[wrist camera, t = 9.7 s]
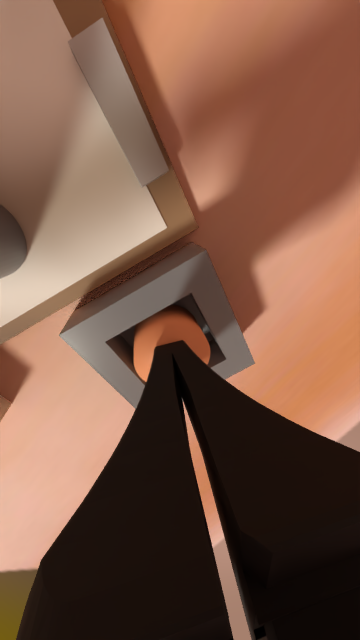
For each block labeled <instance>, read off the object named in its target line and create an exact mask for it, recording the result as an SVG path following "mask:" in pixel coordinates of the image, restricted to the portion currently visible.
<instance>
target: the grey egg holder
mask: <svg viewBox="0 0 360 640" xmlns="http://www.w3.org/2000/svg"><path fill="white" fill-rule="evenodd" d="M169 305H177V306H180V307H183V308H185V309H186V310H188V311H189V312H190V313H191V314H192V315H193V316H194V318H195V319H196V321H197V323H198V325H199V326H200V328H201V330H202V332H203V333H204V335H205V337H206V339H207V341H208V343H209V346H210V359H209V362H208V364H207V365H208V366H209V367H210V368H211V369H212V370H213V371H215V372H216V373H217V374H218V375H219V376H221V377H222V378H223V379H224V380H225V379H227V378H229V377H230V376H232V375H234V374H236V373H238V372H240V371H242V370H244V369H245V368H247V367H249V366H251V365H253V364H255V362H254V360H253V357H252V355H251V353H250V350H249V348H248V346H247V343H246V341H245V339H244V337H243V334H242V332H241V330H240V327H239V325H238V323H237V320H236V318H235V316H234V313H233V311H232V309H231V306H230V304H229V302H228V299H227V297H226V295H225V292H224V290H223V288H222V285H221V283H220V281H219V279H218V276H217V274H216V272H215V269H214V267H213V265H212V262H211V260H210V258H209V255H208V253H207V251H206V250H205V249H204V248H202V247H200V246H198V245H196V244H194V243H193V242H191V243H189V244H187V245H186V246H184V247H182V248H181V249H179V250H177V251H176V252H174V253H172V254H170V255H169V256H167V257H165V258H164V259H162V260H160V261H158V262H157V263H155V264H153V265H152V266H150V267H148V268H147V269H145V270H143V271H141V272H140V273H138V274H136V275H135V276H133V277H131V278H129V279H128V280H126V281H124V282H123V283H121V284H119V285H118V286H116V287H114V288H112V289H111V290H109V291H107V292H106V293H104V294H102V295H100V296H99V297H97V298H95V299H94V300H92V301H90V302H89V303H87V304H85V305H83V306H82V307H80V308H78V309H77V310H75V311H73V313H72V315H71V316H70V318H69V320H68V321H67V323H66V325H65V326H64V328H63V330H62V331H61V333H60V334H59V336H60V337H61V338H62V339H63V340H64V341H65V342H66V343H67V344H68V345H70V346H71V347H72V348H73V349H74V350H75V351H76V352H77V353H78V354H79V355H80V356H81V357H82V358H83V359H84V360H85V361H86V362H87V363H88V364H89V365H90V366H91V367H93V368H94V369H95V370H96V371H97V372H98V373H99V374H100V375H101V376H102V377H103V378H104V379H105V380H106V381H107V382H108V383H109V384H110V385H111V386H112V387H113V388H114V389H116V390H117V391H118V392H119V393H120V394H121V395H122V396H123V397H124V398H125V399H126V400H127V401H128V402H129V403H130V404H131V405H132V406H133V407H134V408H135V409H136V407H137V405H138V403H139V400H140V398H141V395H142V392H143V390H144V387H145V384H146V382H145V381H144V380H143V379H142V378H141V377H140V376H139V375H138V374H137V372H136V370H135V367H134V329H135V326H136V324H137V323H139V322H141V321H143V320H144V319H146V318H148V317H150V316H152V315H153V314H155V313H157V312H159V311H160V310H162V309H164V308H166V307H167V306H169ZM182 401H183V399H182Z"/></svg>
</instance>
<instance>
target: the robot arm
mask: <svg viewBox="0 0 360 640" xmlns="http://www.w3.org/2000/svg"><path fill="white" fill-rule="evenodd" d="M182 399H183V401H184V404H185V407H186V410H187V412H188V415H189V418H190V421H191V424H192V426H193V429H194V432H195V435H196V437H197V440H198V443H199V446H200V449H201V452H202V455H203V459H204V463H205V466H206V470H207V474H208V477H209V481H210V485H211V488H212V492H213V496H214V500H215V503H216V507H217V511H218V514H219V518H220V522H221V526H222V529H223V533H224V537H225V541H226V544H227V548H228V552H229V556H230V559H231V563H232V567H233V571H234V574H235V578H236V582H237V586H238V590H239V593H240V597H241V601H242V605H243V608H244V612H245V616H246V620H247V624H248V627H249V631H250V635H251V638H252V640H360V452H358V451H356V450H354V449H351V448H349V447H347V446H344V445H342V444H340V443H337V442H335V441H333V440H331V439H328V438H326V437H324V436H321V435H319V434H317V433H314V432H312V431H310V430H308V429H306V428H304V427H302V426H300V425H298V424H296V423H294V422H292V421H290V420H288V419H287V418H285V417H283V416H281V415H279V414H278V413H276V412H274V411H272V410H270V409H269V408H267V407H265V406H263V405H261V404H260V403H258V402H256V401H255V400H253V399H252V398H250V397H249V396H247V395H245V394H244V393H242V392H241V391H240V390H238V389H237V388H235V387H234V386H232V385H231V384H230V383H228V382H227V381H226V380H224V379H223V378H222V377H221V376H219V375H218V374H217V373H216V372H215V371H213V370H212V369H211V368H210V367H209V366H208V365H207V364H206V363H204V362H203V361H202V360H201V359H200V358H199V357H198V356H197V355H196V354H195V353H194V352H193V351H192V349H191V348H190V347H189V346H188V345H187V343H186V342H185V341H183V340H180V341H176V342H172V343H168V344H164V345H160V346H156V347H155V349H154V354H153V360H152V364H151V368H150V372H149V375H148V378H147V382H146V384H145V387H144V390H143V392H142V395H141V398H140V400H139V403H138V405H137V407H136V410H135V412H134V414H133V416H132V418H131V421H130V423H129V425H128V427H127V429H126V430H125V432H124V434H123V436H122V438H121V440H120V442H119V444H118V445H117V447H116V449H115V451H114V453H113V454H112V456H111V458H110V459H109V461H108V463H107V464H106V466H105V467H104V469H103V471H102V472H101V474H100V475H99V477H98V478H97V480H96V482H95V483H94V485H93V486H92V488H91V490H90V491H89V493H88V494H87V496H86V497H85V499H84V500H83V502H82V503H81V505H80V506H79V507H78V509H77V510H76V512H75V513H74V515H73V516H72V517H71V519H70V520H69V522H68V523H67V524H66V526H65V527H64V529H63V530H62V531H61V533H60V534H59V536H58V537H57V539H56V540H55V541H54V543H53V544H52V546H51V547H50V548H49V550H48V551H47V553H46V554H45V555H44V557H43V558H42V560H41V562H40V565H39V568H38V571H37V574H36V577H35V580H34V583H33V586H32V588H31V591H30V594H29V597H28V600H27V603H26V606H25V609H24V613H23V617H22V620H21V624H20V627H19V631H18V635H17V638H16V640H233V636H232V631H231V627H230V623H229V616H228V612H227V608H226V603H225V599H224V595H223V591H222V586H221V582H220V578H219V573H218V569H217V565H216V561H215V556H214V552H213V548H212V543H211V539H210V535H209V531H208V526H207V522H206V518H205V514H204V509H203V505H202V501H201V496H200V492H199V488H198V484H197V479H196V475H195V471H194V466H193V462H192V458H191V452H190V447H189V441H188V434H187V427H186V421H185V414H184V408H183V401H182Z"/></svg>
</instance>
